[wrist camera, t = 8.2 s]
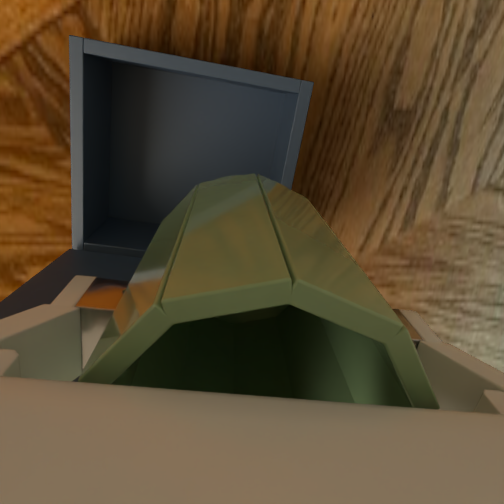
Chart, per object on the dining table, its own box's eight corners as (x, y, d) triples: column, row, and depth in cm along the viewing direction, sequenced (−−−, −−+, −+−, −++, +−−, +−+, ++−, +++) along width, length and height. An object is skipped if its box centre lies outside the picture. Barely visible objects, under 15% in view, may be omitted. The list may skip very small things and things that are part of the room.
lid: (-100, 376, 12) (-86, 478, 14) (324, 412, 14) (301, 498, 15) (69, 248, 26) (68, 305, 27) (274, 274, 28) (264, 326, 29)
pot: (339, 182, 14) (493, 301, 6) (303, 331, 16) (375, 558, 8) (165, 157, 13) (68, 254, 5) (155, 317, 15) (79, 550, 8)
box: (104, 48, 28) (68, 34, 21) (295, 84, 29) (314, 82, 23) (101, 221, 33) (71, 251, 26) (264, 243, 34) (272, 276, 28)
